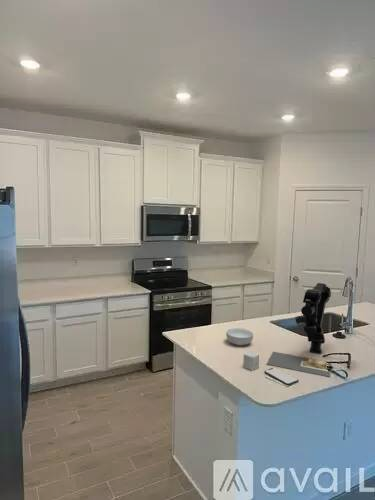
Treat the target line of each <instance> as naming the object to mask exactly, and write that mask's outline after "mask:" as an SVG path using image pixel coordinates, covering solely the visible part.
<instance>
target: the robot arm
mask: <svg viewBox="0 0 375 500" xmlns="http://www.w3.org/2000/svg"><path fill="white" fill-rule="evenodd" d="M331 296H332V291H331V288H330V287H328V286H327V284H325V283H320V282H317V283H316V285H315V286H314V287H313V288H308V289H306V291H305V292H304V295H303V301H302V303H304V306H303V307H302V308H301V309H300V311H301V314H302V315H297V316H295V317H294V319H295V323H296V324H297V325H300V324H303V323H304V326H303V331H304V332H305V333H306V336H307V341H308V342H309V343H310V347H309V352H310V353H316V354H318V355H319V354H320V355H321V354H322V345H324V344H325V343H326V342H325V341H326V340H325V335H324V330H323V328H322V325H323V320H324V313H325V308H326V304H327V303H328V302H329V301H330V298H331Z"/></svg>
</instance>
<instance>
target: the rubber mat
mask: <svg viewBox="0 0 375 500" xmlns="http://www.w3.org/2000/svg"><path fill="white" fill-rule="evenodd" d="M304 357H305V356H300V355H295V354H290V353H282V352H278V351H272V353H271V355H270V357H269V358H268V361H267V363H266V365H267V366H269V367H270V366H271V367H275V368H280V369H287V370H291V371H296V372H301V373H306V374H309V375H310V374H311V375H315V376H322V377H326V378H327V377H328V378H331V371H328V370H327V369H326V370H325V369H320V368H314V367H309V366H304V365H303V358H304ZM305 358H307V357H305ZM309 358H310V357H309ZM310 359H312V358H310ZM314 359H315V360H318V358H317V359H316V358H314ZM320 360H321V359H320ZM321 361H323V360H321ZM325 361H326V362H329V361H327V360H325ZM327 366H332V362H331V363H328V364H327Z"/></svg>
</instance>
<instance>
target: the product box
mask: <svg viewBox="0 0 375 500" xmlns="http://www.w3.org/2000/svg"><path fill="white" fill-rule="evenodd" d="M242 363H243V366H242V367H243V368H245V369H247V370H250V371H255V370H257V369H258V368H260V354H259V353H256V352H253V351H248V352H245V353H244V354H243V362H242Z"/></svg>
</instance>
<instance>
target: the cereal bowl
mask: <svg viewBox="0 0 375 500" xmlns="http://www.w3.org/2000/svg"><path fill="white" fill-rule="evenodd" d="M225 334H226V339H227V341H228V342H230V343H231V344H234V345H235V344H236V346H245V345H248V344H251V342H252V341H253V339H254V333H253V331H252V330H249V329H245V328H241V327H240V328H238V327H237V328H236V327H235V328H228V329H227V330H226V332H225Z"/></svg>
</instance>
